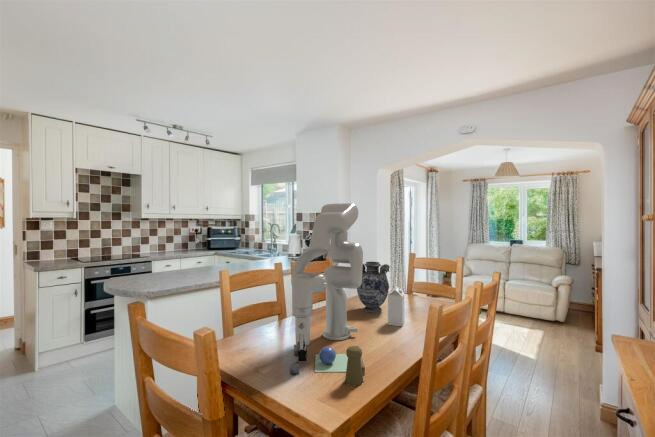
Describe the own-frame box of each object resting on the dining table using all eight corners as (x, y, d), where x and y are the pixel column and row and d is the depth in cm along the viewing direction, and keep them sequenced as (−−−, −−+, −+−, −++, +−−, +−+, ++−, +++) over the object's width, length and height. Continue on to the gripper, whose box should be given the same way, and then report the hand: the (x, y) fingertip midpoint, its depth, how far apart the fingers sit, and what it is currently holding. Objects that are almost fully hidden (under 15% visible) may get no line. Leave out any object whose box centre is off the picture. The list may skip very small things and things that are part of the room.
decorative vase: (348, 310, 179) (348, 262, 179) (363, 304, 194) (364, 259, 194) (382, 317, 167) (383, 265, 167) (395, 309, 182) (396, 262, 182)
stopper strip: (358, 352, 123) (358, 345, 123) (364, 374, 105) (364, 367, 105) (353, 352, 123) (353, 345, 123) (358, 374, 105) (358, 367, 105)
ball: (324, 362, 117) (338, 355, 116) (323, 370, 111) (338, 363, 110) (317, 348, 117) (331, 341, 116) (315, 355, 111) (330, 348, 110)
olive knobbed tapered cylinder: (343, 376, 104) (343, 344, 104) (361, 376, 104) (361, 343, 104) (346, 386, 98) (346, 351, 98) (365, 385, 98) (365, 350, 98)
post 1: (302, 352, 123) (302, 343, 123) (301, 356, 120) (301, 347, 120) (294, 352, 123) (294, 344, 123) (293, 356, 120) (293, 347, 120)
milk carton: (387, 325, 155) (387, 287, 155) (390, 320, 161) (390, 284, 161) (402, 327, 152) (402, 288, 152) (404, 322, 158) (404, 285, 159)
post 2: (299, 371, 108) (299, 361, 108) (298, 375, 105) (298, 365, 105) (290, 371, 108) (290, 361, 108) (289, 375, 105) (289, 365, 105)
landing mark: (351, 354, 121) (351, 353, 121) (355, 371, 107) (355, 371, 107) (315, 354, 121) (315, 354, 121) (314, 372, 107) (314, 371, 107)
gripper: (311, 316, 106) (312, 370, 106) (312, 304, 121) (313, 351, 121) (290, 316, 106) (290, 370, 106) (293, 305, 121) (293, 352, 121)
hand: (302, 360), depth 114 cm, fingers closed
